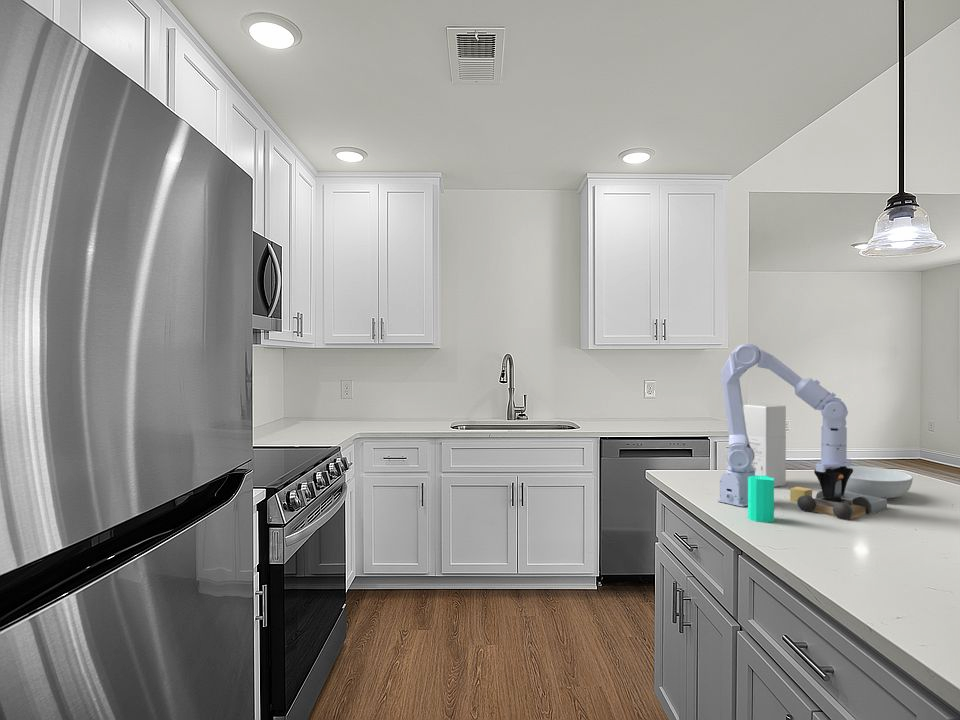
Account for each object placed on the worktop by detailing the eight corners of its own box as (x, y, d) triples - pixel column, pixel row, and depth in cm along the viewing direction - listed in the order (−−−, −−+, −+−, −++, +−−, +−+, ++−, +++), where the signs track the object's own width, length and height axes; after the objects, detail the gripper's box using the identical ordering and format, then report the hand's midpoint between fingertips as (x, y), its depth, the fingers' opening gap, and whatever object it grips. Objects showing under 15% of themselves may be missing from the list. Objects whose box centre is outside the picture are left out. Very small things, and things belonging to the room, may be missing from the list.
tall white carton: (786, 485, 189) (786, 405, 189) (766, 488, 186) (766, 406, 185) (762, 480, 197) (762, 403, 197) (742, 482, 194) (742, 404, 193)
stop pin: (838, 507, 155) (838, 475, 155) (820, 503, 159) (820, 473, 159) (846, 504, 158) (846, 474, 157) (828, 501, 161) (829, 471, 161)
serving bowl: (828, 499, 171) (828, 475, 171) (825, 485, 190) (826, 463, 190) (918, 508, 162) (918, 482, 162) (906, 492, 180) (906, 469, 180)
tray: (871, 513, 156) (871, 504, 156) (823, 504, 166) (823, 495, 166) (886, 508, 161) (886, 499, 161) (839, 499, 171) (839, 490, 171)
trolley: (870, 513, 156) (870, 498, 156) (849, 520, 150) (849, 504, 149) (819, 503, 167) (819, 489, 167) (797, 509, 160) (797, 494, 160)
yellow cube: (804, 503, 167) (804, 491, 167) (790, 500, 170) (790, 488, 170) (812, 501, 169) (812, 489, 169) (797, 498, 173) (797, 486, 173)
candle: (759, 523, 148) (759, 474, 148) (742, 516, 154) (742, 469, 153) (779, 521, 149) (779, 472, 149) (762, 515, 155) (762, 468, 155)
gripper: (836, 449, 150) (836, 503, 151) (863, 443, 159) (863, 495, 159) (807, 445, 156) (807, 497, 156) (835, 440, 165) (835, 490, 165)
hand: (833, 496), depth 158 cm, fingers open, 5 cm apart
